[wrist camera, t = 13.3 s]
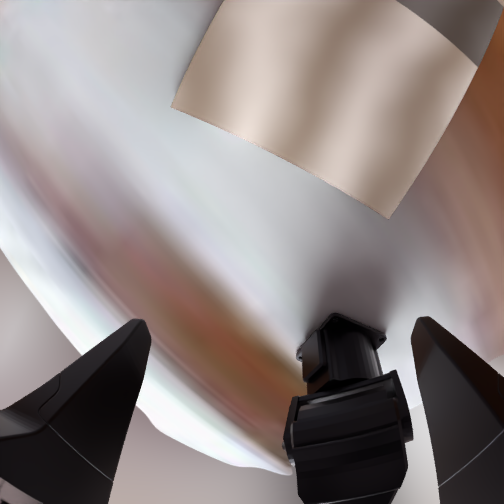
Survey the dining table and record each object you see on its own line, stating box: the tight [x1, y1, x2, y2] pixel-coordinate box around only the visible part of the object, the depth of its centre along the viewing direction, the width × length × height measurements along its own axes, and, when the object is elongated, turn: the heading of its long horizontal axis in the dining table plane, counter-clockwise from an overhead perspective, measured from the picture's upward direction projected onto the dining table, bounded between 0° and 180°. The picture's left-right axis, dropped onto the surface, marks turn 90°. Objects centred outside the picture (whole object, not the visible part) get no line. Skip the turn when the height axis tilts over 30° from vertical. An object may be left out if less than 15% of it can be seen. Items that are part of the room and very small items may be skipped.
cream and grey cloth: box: [171, 0, 504, 220], centre depth 13 cm, size 16×22×1 cm
